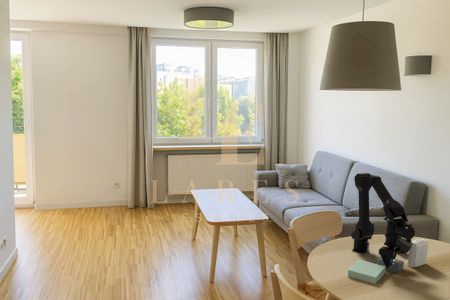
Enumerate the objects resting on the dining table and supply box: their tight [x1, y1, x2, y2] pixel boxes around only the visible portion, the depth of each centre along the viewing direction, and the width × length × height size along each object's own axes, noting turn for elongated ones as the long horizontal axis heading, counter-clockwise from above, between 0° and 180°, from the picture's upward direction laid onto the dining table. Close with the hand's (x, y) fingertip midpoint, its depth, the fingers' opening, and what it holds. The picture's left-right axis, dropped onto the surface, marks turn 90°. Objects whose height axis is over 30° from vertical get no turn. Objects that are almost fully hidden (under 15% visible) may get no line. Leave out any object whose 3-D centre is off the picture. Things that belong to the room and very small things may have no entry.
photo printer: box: [407, 238, 429, 268], centre depth 205 cm, size 10×4×12 cm, turn 123°
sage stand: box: [347, 259, 386, 285], centre depth 194 cm, size 12×14×3 cm
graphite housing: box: [376, 256, 405, 274], centre depth 201 cm, size 10×6×5 cm, turn 47°
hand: (390, 264), depth 201 cm, fingers open, 9 cm apart
